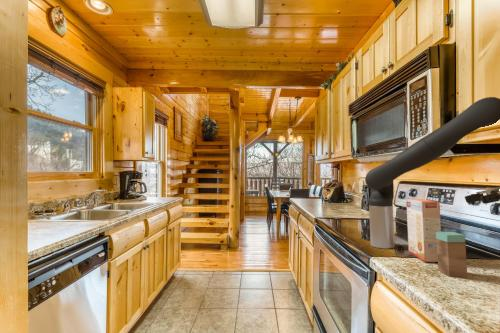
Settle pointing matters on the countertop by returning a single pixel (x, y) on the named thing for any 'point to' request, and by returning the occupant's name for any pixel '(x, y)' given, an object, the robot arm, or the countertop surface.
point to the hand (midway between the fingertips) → (473, 200)
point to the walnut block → (451, 254)
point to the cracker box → (423, 228)
